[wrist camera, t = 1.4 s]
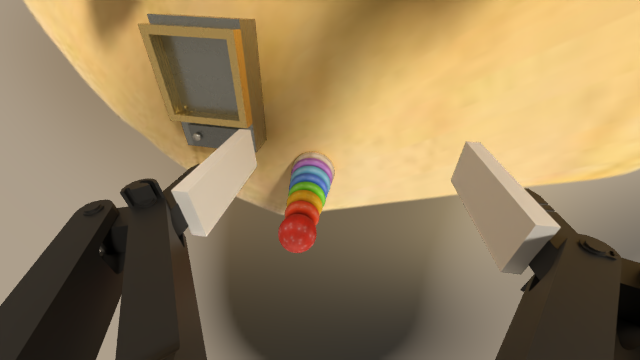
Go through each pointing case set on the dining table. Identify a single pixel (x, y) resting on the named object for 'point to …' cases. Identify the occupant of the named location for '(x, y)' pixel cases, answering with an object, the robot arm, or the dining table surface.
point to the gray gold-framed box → (208, 75)
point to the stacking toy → (305, 200)
